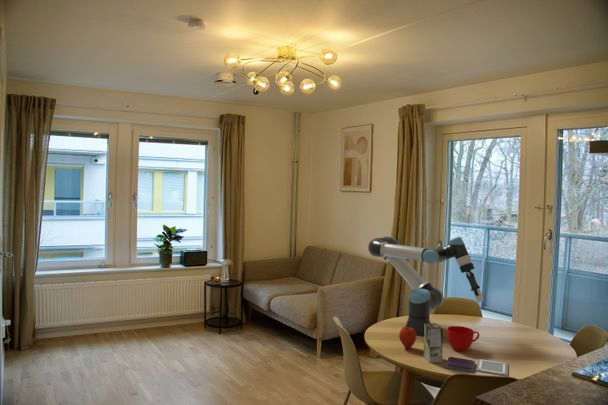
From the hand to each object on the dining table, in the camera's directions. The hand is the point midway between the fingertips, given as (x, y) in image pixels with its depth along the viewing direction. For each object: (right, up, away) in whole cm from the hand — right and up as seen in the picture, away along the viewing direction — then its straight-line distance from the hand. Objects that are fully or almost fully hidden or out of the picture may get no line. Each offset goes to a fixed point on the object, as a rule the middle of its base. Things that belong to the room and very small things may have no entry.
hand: (480, 301), depth 259 cm
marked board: (-11, -22, -42) cm, 49 cm away
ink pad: (-25, -21, -41) cm, 52 cm away
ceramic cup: (-15, -21, -17) cm, 31 cm away
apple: (-44, -20, -18) cm, 52 cm away
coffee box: (-35, -21, -33) cm, 53 cm away
